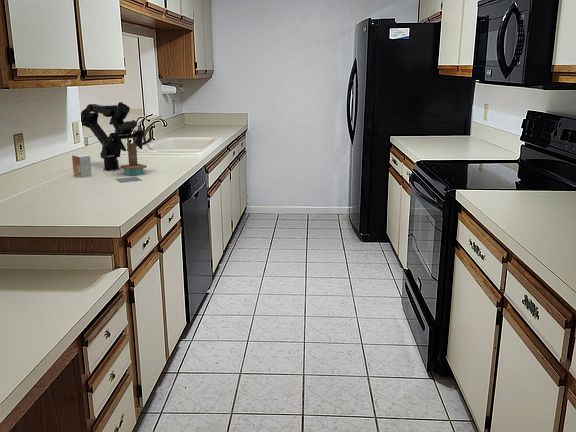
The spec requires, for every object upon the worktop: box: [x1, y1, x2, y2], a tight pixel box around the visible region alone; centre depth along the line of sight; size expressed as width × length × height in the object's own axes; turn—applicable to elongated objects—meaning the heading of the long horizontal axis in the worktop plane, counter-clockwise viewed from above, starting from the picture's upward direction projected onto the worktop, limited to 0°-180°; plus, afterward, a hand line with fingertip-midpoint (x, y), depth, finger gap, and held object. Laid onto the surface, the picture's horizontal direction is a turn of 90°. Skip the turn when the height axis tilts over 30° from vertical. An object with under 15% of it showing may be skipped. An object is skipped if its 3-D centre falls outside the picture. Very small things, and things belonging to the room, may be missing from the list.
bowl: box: [123, 168, 145, 177], centre depth 276 cm, size 9×9×4 cm
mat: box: [115, 176, 143, 184], centre depth 263 cm, size 10×10×1 cm
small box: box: [71, 153, 93, 178], centre depth 271 cm, size 8×6×10 cm
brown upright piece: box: [119, 142, 147, 170], centre depth 274 cm, size 9×9×12 cm
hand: (133, 149), depth 272 cm, fingers open, 9 cm apart
